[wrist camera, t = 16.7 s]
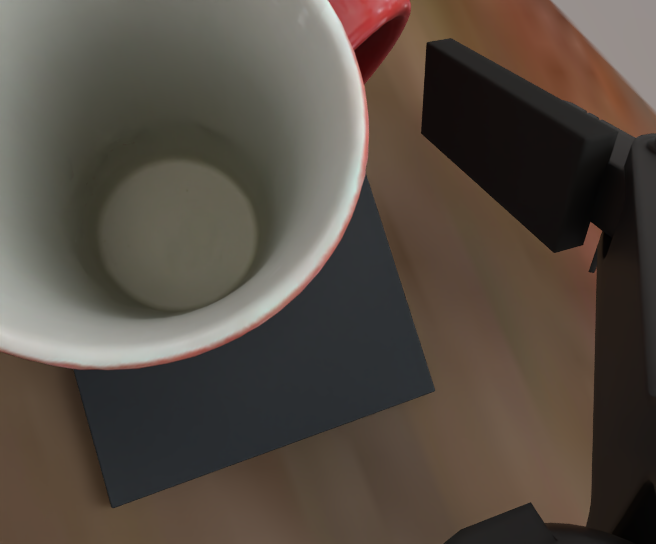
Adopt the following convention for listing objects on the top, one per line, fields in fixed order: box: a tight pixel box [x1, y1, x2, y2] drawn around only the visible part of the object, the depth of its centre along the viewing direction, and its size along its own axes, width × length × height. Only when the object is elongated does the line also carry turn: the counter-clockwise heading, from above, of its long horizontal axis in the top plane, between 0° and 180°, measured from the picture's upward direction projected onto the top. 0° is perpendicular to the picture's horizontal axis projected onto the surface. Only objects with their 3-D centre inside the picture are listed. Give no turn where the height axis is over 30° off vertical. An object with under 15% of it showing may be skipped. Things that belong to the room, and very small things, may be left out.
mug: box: [0, 0, 411, 370], centre depth 16 cm, size 13×9×14 cm
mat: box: [73, 172, 435, 508], centre depth 23 cm, size 20×14×1 cm
